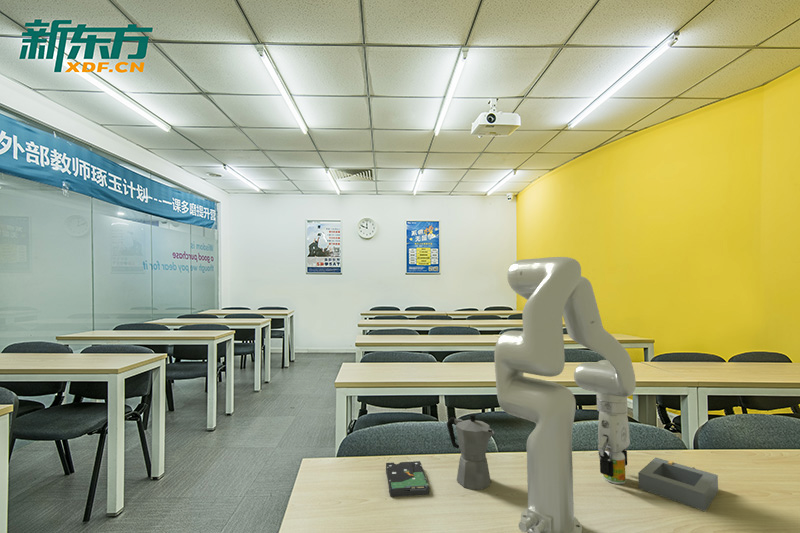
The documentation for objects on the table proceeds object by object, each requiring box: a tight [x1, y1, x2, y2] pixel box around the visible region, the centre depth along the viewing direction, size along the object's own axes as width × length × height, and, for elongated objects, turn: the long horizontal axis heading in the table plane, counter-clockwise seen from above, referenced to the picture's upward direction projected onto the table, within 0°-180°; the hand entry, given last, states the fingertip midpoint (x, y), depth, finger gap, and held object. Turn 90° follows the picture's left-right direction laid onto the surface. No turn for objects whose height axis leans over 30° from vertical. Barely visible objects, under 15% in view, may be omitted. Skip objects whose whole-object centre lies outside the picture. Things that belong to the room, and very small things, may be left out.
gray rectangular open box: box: [637, 456, 719, 512], centre depth 104 cm, size 23×14×4 cm, turn 131°
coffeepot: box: [446, 413, 496, 491], centre depth 107 cm, size 15×9×18 cm, turn 45°
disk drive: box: [385, 460, 430, 498], centre depth 106 cm, size 10×3×15 cm
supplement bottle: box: [602, 447, 627, 485], centre depth 106 cm, size 5×5×10 cm
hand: (614, 469), depth 106 cm, fingers open, 9 cm apart
